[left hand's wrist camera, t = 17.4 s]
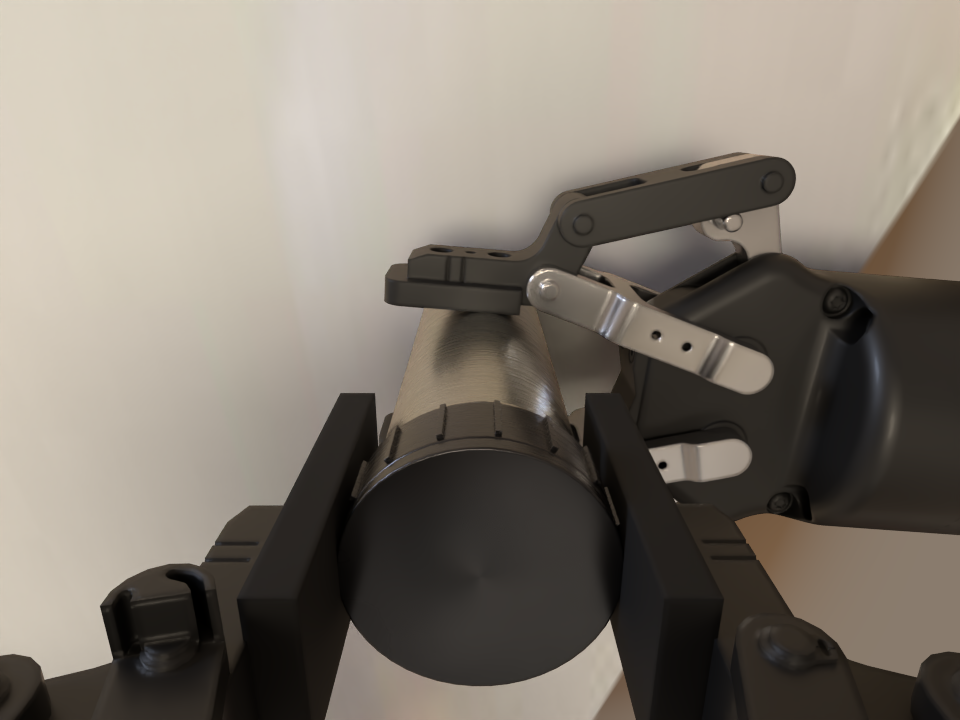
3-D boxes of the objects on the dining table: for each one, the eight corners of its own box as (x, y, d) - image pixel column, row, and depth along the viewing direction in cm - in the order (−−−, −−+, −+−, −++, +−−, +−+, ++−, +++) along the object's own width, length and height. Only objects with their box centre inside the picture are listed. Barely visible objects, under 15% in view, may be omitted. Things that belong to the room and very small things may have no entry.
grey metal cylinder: (452, 238, 24) (415, 400, 10) (552, 283, 25) (645, 494, 11) (409, 335, 26) (325, 594, 12) (506, 376, 26) (535, 669, 12)
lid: (609, 611, 13) (627, 680, 11) (370, 625, 13) (354, 696, 11) (607, 389, 11) (628, 434, 10) (333, 408, 11) (309, 456, 10)
